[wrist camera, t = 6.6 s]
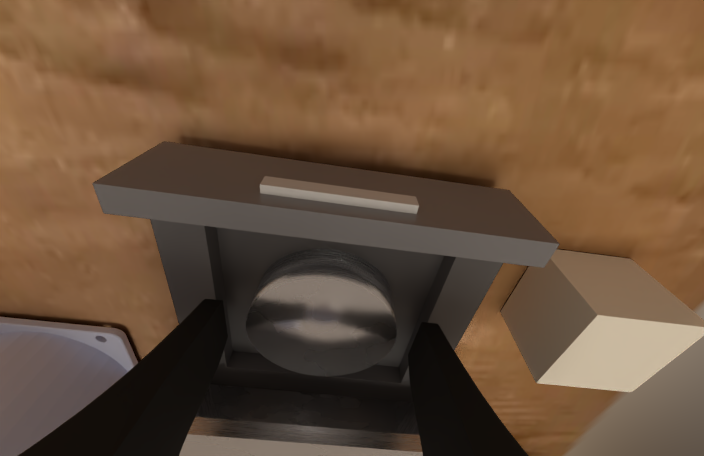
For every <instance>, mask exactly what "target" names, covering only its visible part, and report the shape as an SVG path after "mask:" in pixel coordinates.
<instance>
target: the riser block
mask: <svg viewBox="0 0 704 456" xmlns="http://www.w3.org/2000/svg"><path fill="white" fill-rule="evenodd" d="M500 312H501V314H502V316H503V318H504V320H505V322H506V324H507V326H508V328H509V330H510V332H511V334H512V336H513V338H514V340H515V342H516V344H517V346H518V348H519V350H520V352H521V354H522V356H523V358H524V360H525V362H526V364H527V366H528V368H529V370H530V372H531V374H532V376H533V378H534V380H535V382H536V383H541V384H551V385H562V386H572V387H583V388H593V389H604V390H614V391H624V392H632V391H634V390H635V389H636V388H638V387H639V386H640V385H641V384H643V383H644V382H645V381H646V380H648V379H649V378H650V377H651V376H653V375H654V374H655V373H657V372H658V371H659V370H660V369H662V368H663V367H664V366H666V365H667V364H668V363H669V362H671V361H672V360H673V359H674V358H676V357H677V356H678V355H680V354H681V353H682V352H683V351H685V350H686V349H687V348H688V347H690V346H691V345H692V344H694V343H695V342H696V341H697V340H699V339H700V338H701V337H702V336H704V320H703V319H702V318H700V317H699V316H698V315H697V314H696V313H695V312H693V311H692V310H691V309H690V308H689V307H687V306H686V305H685V304H684V303H683V302H681V301H680V300H679V299H678V298H677V297H676V296H674V295H673V294H672V293H671V292H670V291H668V290H667V289H666V288H665V287H664V286H662V285H661V284H660V283H659V282H658V281H657V280H655V279H654V278H653V277H652V276H651V275H649V274H648V273H647V272H646V271H645V270H643V269H642V268H641V267H640V266H639V265H638V264H636V263H635V262H634V261H633V260H632V259H629V258H621V257H613V256H605V255H598V254H590V253H582V252H574V251H567V250H559V249H556V251H555V252H554V254H553V255H552V257H551V258H550V260H549V261H548V263H547V264H546V266H545V267H544V268H541V267H533V266H529V267H528V268H527V270H526V272H525V273H524V275H523V276H522V278H521V280H520V281H519V283H518V284H517V286H516V288H515V289H514V291H513V292H512V294H511V296H510V297H509V299H508V300H507V302H506V304H505V305H504V307H503V308H502V310H501V311H500Z"/></svg>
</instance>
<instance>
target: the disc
mask: <svg viewBox="0 0 704 456" xmlns="http://www.w3.org/2000/svg"><path fill="white" fill-rule="evenodd" d="M246 331H247V335H248V337H249V340H250V341H251V343H252V345H253V346H254V347H255V348H256V350H257V351H258V352H259V353H260V354H261V355H262V356H264V357H265V358H266V359H268V360H269V361H271V362H273V363H274V364H276V365H278V366H280V367H282V368H285V369H288V370H290V371H294V372H297V373H302V374H306V375H314V376H340V375H346V374H351V373H355V372H359V371H362V370H364V369H367V368H369V367H371V366H373V365H375V364H376V363H378V362H379V361H380V360H382V359H383V358H384V357H385V356H386V355H387V354H388V353H389V352H390V350H391V349H392V347H393V345H394V343H395V340H396V335H397V328H396V321H395V313H394V306H393V298H392V292H391V288H390V285H389V283H388V281H387V280H386V278H385V277H384V275H383V274H382V273H381V272H380V271H379V270H378V269H377V268H376V267H375V266H374V265H372V264H371V263H369V262H368V261H366V260H364V259H362V258H361V257H358V256H356V255H353V254H351V253H347V252H344V251H339V250H333V249H310V250H303V251H299V252H295V253H292V254H290V255H287V256H285V257H283V258H281V259H279V260H278V261H276V262H275V263H274V264H272V265H271V266H270V267H269V268H268V269H267V270H266V272H265V273H264V275H263V276H262V278H261V280H260V283H259V285H258V288H257V291H256V293H255V296H254V299H253V301H252V304H251V307H250V309H249V312H248V314H247V319H246Z"/></svg>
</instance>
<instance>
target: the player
mask: <svg viewBox="0 0 704 456" xmlns="http://www.w3.org/2000/svg"><path fill="white" fill-rule="evenodd" d="M179 456H423V452H422V447H421V441H420V436H419V431H418V425H417V420H416V414H415V409H414V403H413V402H406V401H394V400H383V399H372V398H360V397H349V396H338V395H327V394H315V393H304V392H293V391H281V390H270V389H259V388H248V387H236V386H225V385H214V384H210V386H209V388H208V390H207V392H206V395H205V397H204V399H203V401H202V403H201V406H200V408H199V410H198V412H197V414H196V417H195V419H194V421H193V423H192V425H191V428H190V430H189V432H188V434H187V437H186V439H185V442H184V444H183V446H182V449H181V452H180V454H179Z"/></svg>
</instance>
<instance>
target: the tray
mask: <svg viewBox="0 0 704 456" xmlns="http://www.w3.org/2000/svg"><path fill="white" fill-rule="evenodd" d="M92 184H93V186H94V189H95V192H96V194H97V197H98V200H99V202H100V205H101V208H102V210H103V213H105V214H113V215H121V216H129V217H137V218H146V219H150V220H151V224H152V228H153V231H154V235H155V238H156V242H157V246H158V249H159V253H160V257H161V260H162V264H163V267H164V271H165V275H166V278H167V282H168V286H169V289H170V293H171V296H172V300H173V304H174V307H175V311H176V315H177V318H178V322H179V324H180V323H181V322H182V321H183V320H184V319H185V318H186V317H187V316H188V315H189V314H190V313H191V312H192V311H193V310H194V309H195V308H196V307H197V306H198V305H199V304H200V303H201V302H202V301H203V300H204V299H213V300H223V305H224V312H225V319H226V326H227V333H228V338H227V341H226V345H225V348H224V351H223V354H222V357H221V360H220V363H219V366H218V368H217V370H216V372H215V375H214V377H213V379H212V381H211V384H214V385H225V386H236V387H248V388H259V389H270V390H281V391H293V392H304V393H315V394H327V395H338V396H349V397H360V398H372V399H383V400H394V401H406V402H413V398H412V392H411V386H410V377H409V364H408V353H409V351H410V349H411V346H412V344H413V341H414V339H415V337H416V334H417V332H418V329H419V327H420V325H421V322H427V323H437V324H438V325H439V326H440V328H441V329H442V331H443V333H444V334H445V336H446V338H447V340H448V341H449V343H450V345H451V346H452V348H453V350H455V348H456V347H457V345H458V343H459V341H460V339H461V338H462V336H463V334H464V332H465V330H466V329H467V327H468V325H469V323H470V321H471V320H472V318H473V316H474V314H475V312H476V311H477V309H478V307H479V305H480V304H481V302H482V300H483V298H484V296H485V295H486V293H487V291H488V289H489V287H490V286H491V284H492V282H493V280H494V278H495V277H496V275H497V273H498V271H499V270H500V268H501V266H502V264H503V263H509V264H517V265H525V266H533V267H541V268H544V267H545V266H546V264H547V263H548V261H549V260H550V258H551V257H552V255H553V254H554V252H555V251H556V249H557V248H558V246H559V243H558V242H557V241H556V239H555V238H554V237H553V236H552V235H551V234H550V233H549V232H548V231H547V230H546V229H545V228H544V227H543V226H542V225H541V223H540V222H539V221H538V220H537V219H536V218H535V217H534V216H533V215H532V214H531V213H530V212H529V211H528V210H527V209H526V208H525V206H524V205H523V204H522V203H521V202H520V201H519V200H518V199H517V198H516V197H515V196H514V195H513V194H512V193H511V192H510V190H504V189H497V188H490V187H483V186H476V185H469V184H462V183H455V182H448V181H441V180H434V179H427V178H420V177H412V176H405V175H398V174H391V173H384V172H377V171H370V170H363V169H356V168H349V167H342V166H335V165H328V164H321V163H313V162H306V161H299V160H292V159H285V158H278V157H271V156H264V155H257V154H250V153H243V152H236V151H229V150H221V149H214V148H207V147H200V146H193V145H186V144H179V143H172V142H165V141H164V142H162V143H160V144H158V145H157V146H155V147H153V148H152V149H150V150H148V151H146V152H145V153H143V154H141V155H140V156H138V157H136V158H135V159H133V160H131V161H129V162H128V163H126V164H124V165H123V166H121V167H119V168H117V169H116V170H114V171H112V172H111V173H109V174H107V175H106V176H104V177H102V178H100V179H99V180H97V181H95V182H94V183H92ZM310 249H333V250H339V251H344V252H347V253H351V254H353V255H356V256H358V257H361V258H362V259H364V260H366V261H368V262H369V263H371V264H372V265H374V266H375V267H376V268H377V269H378V270H379V271H380V272H381V273H382V274H383V275H384V277H385V278H386V280H387V281H388V283H389V285H390V288H391V292H392V298H393V306H394V313H395V321H396V328H397V335H396V340H395V343H394V345H393V347H392V349H391V350H390V352H389V353H388V354H387V355H386V356H385V357H384V358H383V359H382V360H380V361H379V362H378V363H376V364H375V365H373V366H371V367H369V368H367V369H364V370H362V371H359V372H355V373H351V374H346V375H340V376H314V375H306V374H302V373H297V372H294V371H290V370H288V369H285V368H282V367H280V366H278V365H276V364H274V363H273V362H271V361H269V360H268V359H266V358H265V357H264V356H262V355H261V354H260V353H259V352H258V351H257V350H256V348H255V347H254V346H253V345H252V343H251V341H250V340H249V337H248V335H247V331H246V319H247V314H248V312H249V309H250V307H251V304H252V301H253V299H254V296H255V293H256V291H257V288H258V285H259V283H260V280H261V278H262V276H263V275H264V273H265V272H266V270H267V269H268V268H269V267H270V266H271V265H272V264H274V263H275V262H276V261H278V260H279V259H281V258H283V257H285V256H287V255H290V254H292V253H295V252H299V251H303V250H310Z"/></svg>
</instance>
